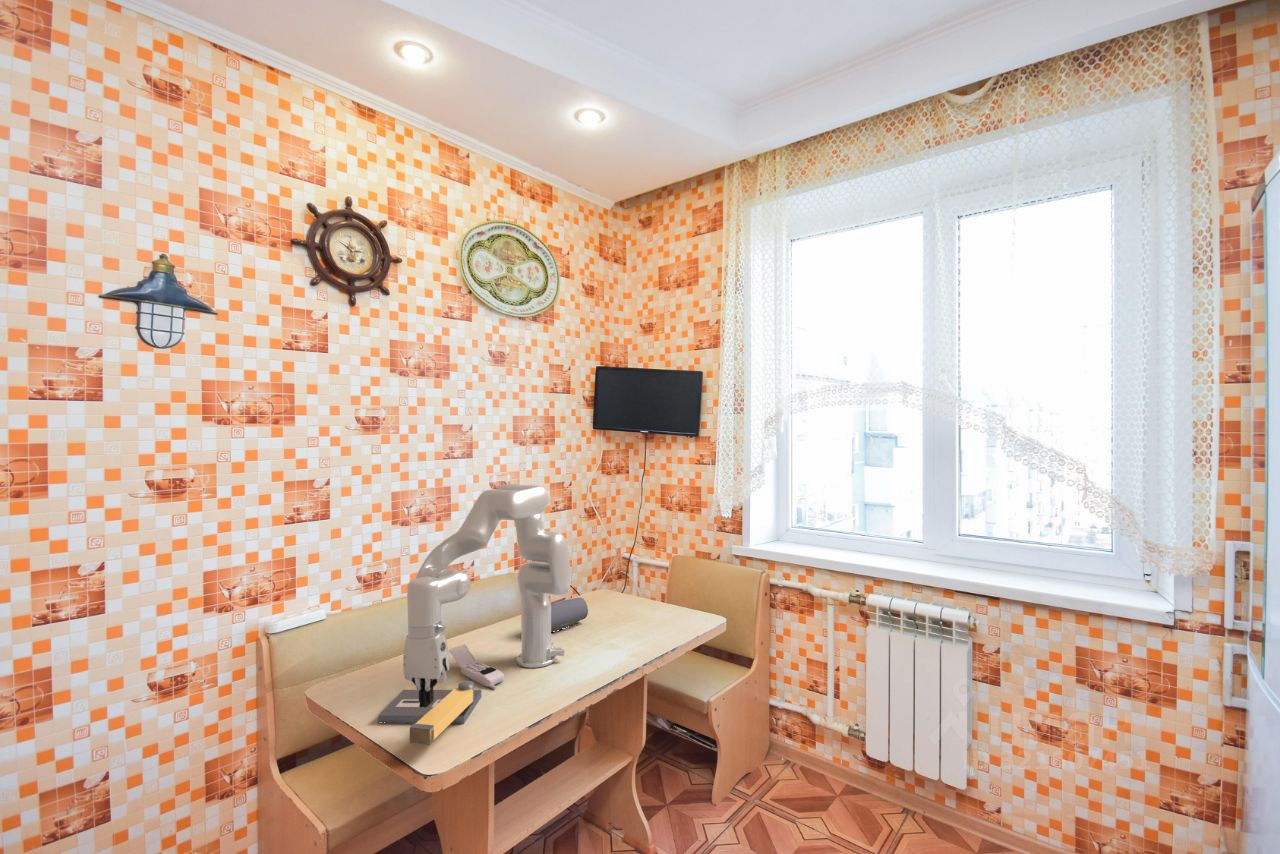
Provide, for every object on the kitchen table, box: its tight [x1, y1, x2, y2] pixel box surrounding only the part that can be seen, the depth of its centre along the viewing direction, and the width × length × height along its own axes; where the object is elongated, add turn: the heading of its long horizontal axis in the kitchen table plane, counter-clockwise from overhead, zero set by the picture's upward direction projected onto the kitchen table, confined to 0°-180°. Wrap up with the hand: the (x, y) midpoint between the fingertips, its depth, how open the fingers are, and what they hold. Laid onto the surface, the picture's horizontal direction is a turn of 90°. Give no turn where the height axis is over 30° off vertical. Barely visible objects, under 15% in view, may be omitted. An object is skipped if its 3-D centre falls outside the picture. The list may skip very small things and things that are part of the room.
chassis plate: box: [377, 689, 482, 725], centre depth 145 cm, size 22×14×2 cm, turn 88°
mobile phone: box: [448, 643, 505, 690], centre depth 166 cm, size 6×6×25 cm
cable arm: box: [409, 680, 475, 746], centre depth 135 cm, size 23×5×5 cm, turn 169°
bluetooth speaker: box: [551, 597, 589, 632], centre depth 205 cm, size 23×9×10 cm, turn 136°
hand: (426, 704), depth 133 cm, fingers closed
